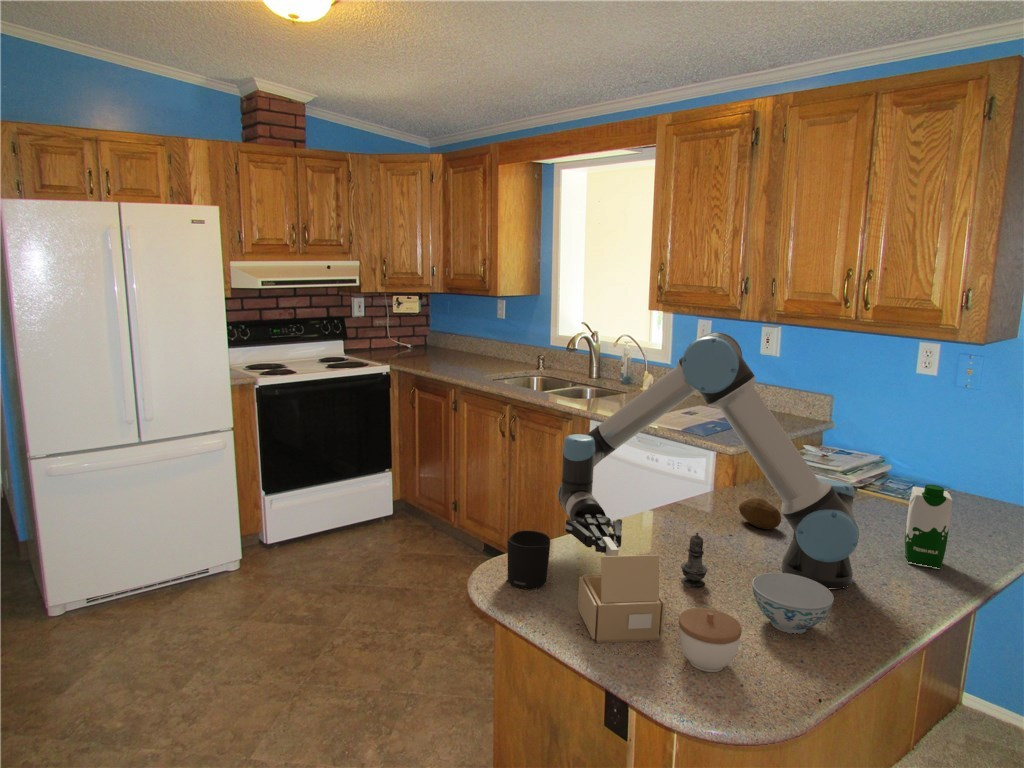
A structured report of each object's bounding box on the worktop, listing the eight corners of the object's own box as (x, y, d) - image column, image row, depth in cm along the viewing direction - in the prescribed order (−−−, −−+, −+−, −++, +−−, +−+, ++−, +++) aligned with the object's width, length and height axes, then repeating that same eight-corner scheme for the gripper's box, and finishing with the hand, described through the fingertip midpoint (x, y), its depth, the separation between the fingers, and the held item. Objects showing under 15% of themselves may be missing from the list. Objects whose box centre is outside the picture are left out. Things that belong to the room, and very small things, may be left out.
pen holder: (498, 576, 153) (499, 534, 151) (534, 568, 157) (536, 527, 156) (519, 594, 145) (521, 550, 143) (556, 585, 149) (558, 542, 148)
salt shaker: (692, 590, 149) (696, 538, 147) (674, 579, 155) (678, 529, 153) (712, 585, 152) (716, 534, 150) (693, 575, 157) (698, 525, 155)
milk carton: (903, 564, 167) (914, 486, 164) (900, 551, 175) (910, 477, 172) (945, 572, 164) (957, 492, 160) (940, 558, 172) (951, 482, 169)
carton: (640, 607, 141) (643, 573, 140) (663, 641, 128) (666, 604, 127) (576, 609, 139) (578, 574, 138) (593, 644, 126) (595, 606, 125)
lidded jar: (671, 671, 119) (675, 621, 117) (679, 641, 129) (683, 594, 127) (736, 686, 115) (741, 635, 113) (739, 654, 125) (743, 606, 123)
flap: (658, 600, 128) (657, 554, 128) (659, 600, 127) (658, 555, 127) (601, 602, 126) (601, 556, 126) (601, 602, 125) (601, 556, 126)
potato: (773, 536, 183) (776, 508, 182) (730, 523, 192) (732, 496, 190) (786, 528, 189) (788, 502, 187) (743, 516, 197) (746, 490, 196)
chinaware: (741, 604, 144) (744, 569, 143) (814, 610, 143) (818, 575, 141) (759, 641, 129) (763, 604, 128) (841, 648, 128) (845, 610, 127)
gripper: (612, 528, 158) (645, 573, 135) (557, 529, 156) (581, 575, 133) (614, 497, 156) (647, 537, 133) (558, 498, 155) (583, 538, 132)
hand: (614, 556), depth 133 cm, fingers closed
